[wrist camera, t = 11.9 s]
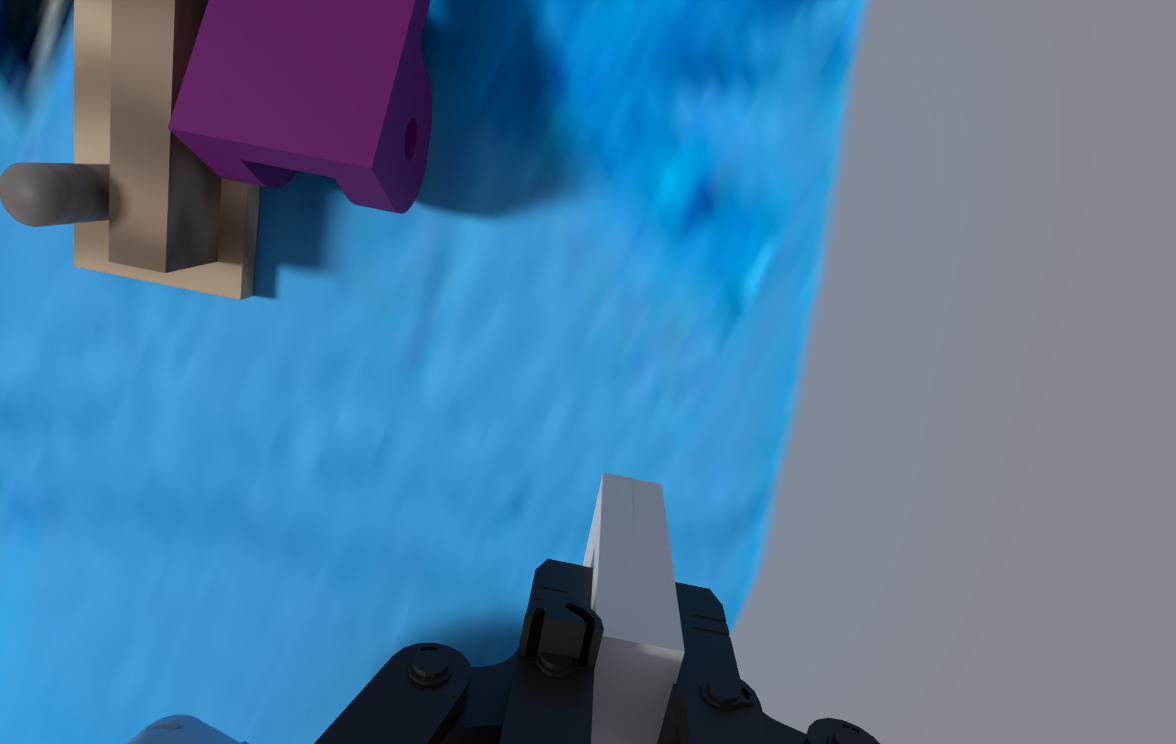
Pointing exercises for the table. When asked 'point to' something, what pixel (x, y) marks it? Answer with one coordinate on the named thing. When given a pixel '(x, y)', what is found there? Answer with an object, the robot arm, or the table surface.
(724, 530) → the table surface
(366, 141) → the mounting bracket
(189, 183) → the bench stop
